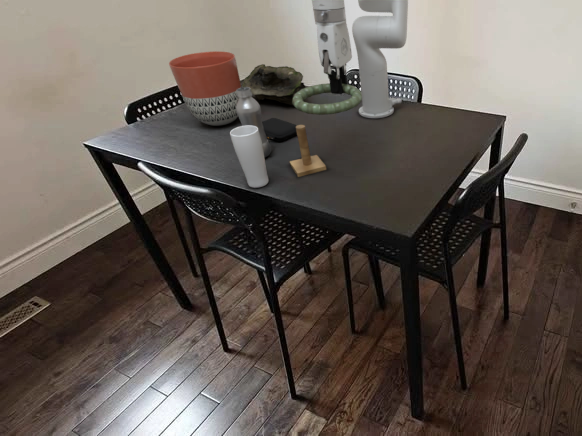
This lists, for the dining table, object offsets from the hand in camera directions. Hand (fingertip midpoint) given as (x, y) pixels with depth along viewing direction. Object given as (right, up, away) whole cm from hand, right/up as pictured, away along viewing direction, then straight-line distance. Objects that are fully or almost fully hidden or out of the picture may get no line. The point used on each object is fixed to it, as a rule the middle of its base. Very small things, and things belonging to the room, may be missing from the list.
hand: (339, 90), depth 111 cm
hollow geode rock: (-32, +10, +49) cm, 60 cm away
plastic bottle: (-25, -16, +12) cm, 32 cm away
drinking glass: (-21, -25, -1) cm, 33 cm away
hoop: (-2, -4, -6) cm, 7 cm away
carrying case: (-25, -7, +25) cm, 36 cm away
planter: (-47, -1, +34) cm, 58 cm away
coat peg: (-10, -20, +6) cm, 23 cm away
